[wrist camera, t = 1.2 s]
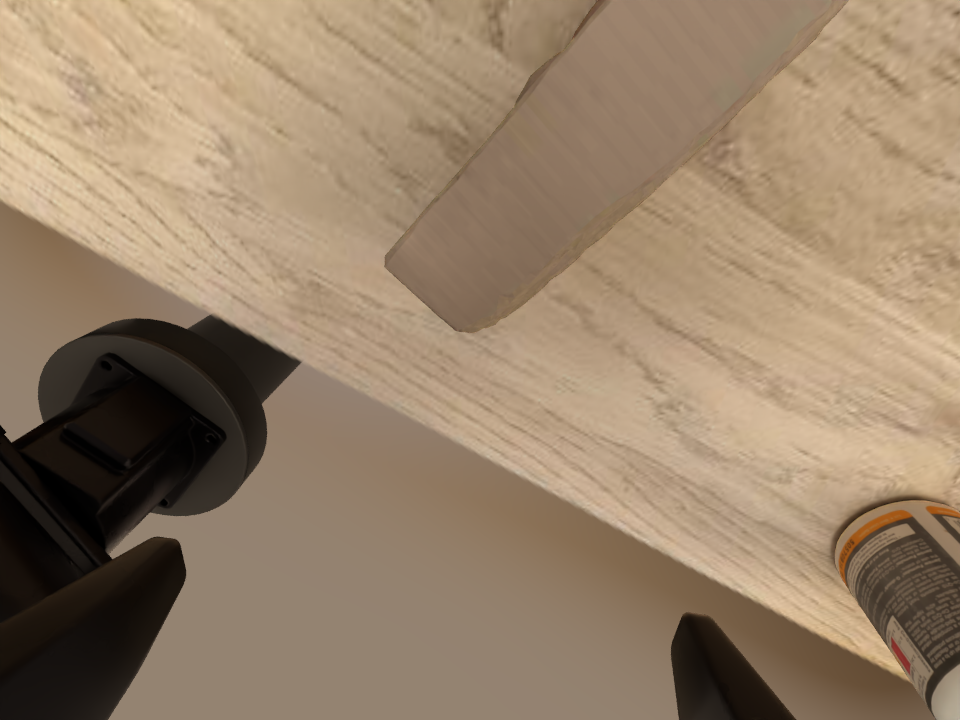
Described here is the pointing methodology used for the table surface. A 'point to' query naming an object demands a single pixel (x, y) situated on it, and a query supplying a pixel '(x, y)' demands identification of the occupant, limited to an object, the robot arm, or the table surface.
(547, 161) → the fossil
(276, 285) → the table surface
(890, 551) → the pill bottle
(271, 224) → the table surface
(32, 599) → the robot arm
